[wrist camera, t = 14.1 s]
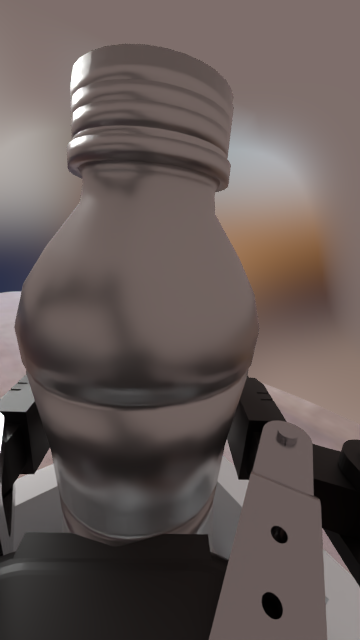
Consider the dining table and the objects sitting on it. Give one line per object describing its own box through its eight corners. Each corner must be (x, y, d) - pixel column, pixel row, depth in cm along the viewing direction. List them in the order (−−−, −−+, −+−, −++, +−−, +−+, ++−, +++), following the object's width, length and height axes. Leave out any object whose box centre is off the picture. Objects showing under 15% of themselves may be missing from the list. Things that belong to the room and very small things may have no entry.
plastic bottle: (239, 679, 11) (393, 70, 5) (54, 809, 8) (-135, -207, 2) (178, 523, 16) (213, 158, 10) (59, 569, 14) (12, 114, 8)
